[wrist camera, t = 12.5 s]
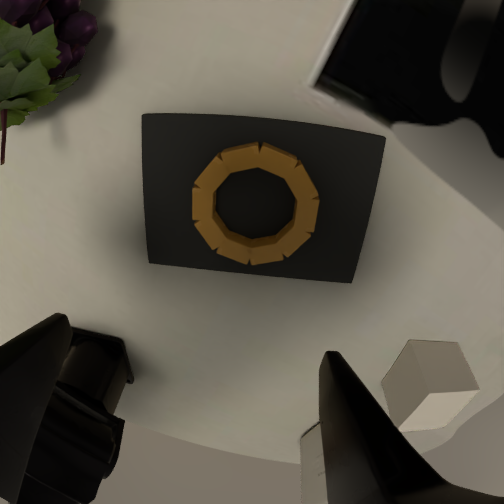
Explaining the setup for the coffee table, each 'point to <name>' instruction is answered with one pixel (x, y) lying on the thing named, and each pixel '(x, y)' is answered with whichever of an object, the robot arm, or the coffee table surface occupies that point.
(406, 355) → the white cube
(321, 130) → the mat
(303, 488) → the photo printer
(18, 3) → the fruit
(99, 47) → the coffee table surface
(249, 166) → the ring
